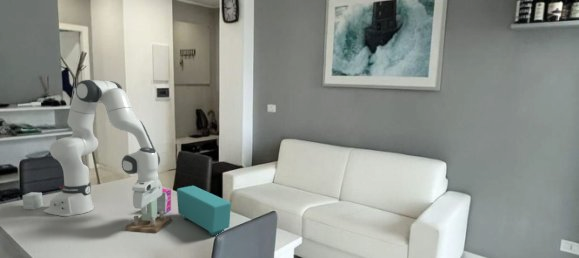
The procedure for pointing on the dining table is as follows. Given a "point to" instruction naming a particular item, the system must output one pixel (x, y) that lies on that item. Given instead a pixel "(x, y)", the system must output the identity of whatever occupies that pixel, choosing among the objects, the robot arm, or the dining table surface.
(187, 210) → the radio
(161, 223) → the peg board
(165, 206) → the supplement box
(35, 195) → the skincare box
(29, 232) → the dining table surface
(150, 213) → the sage block
